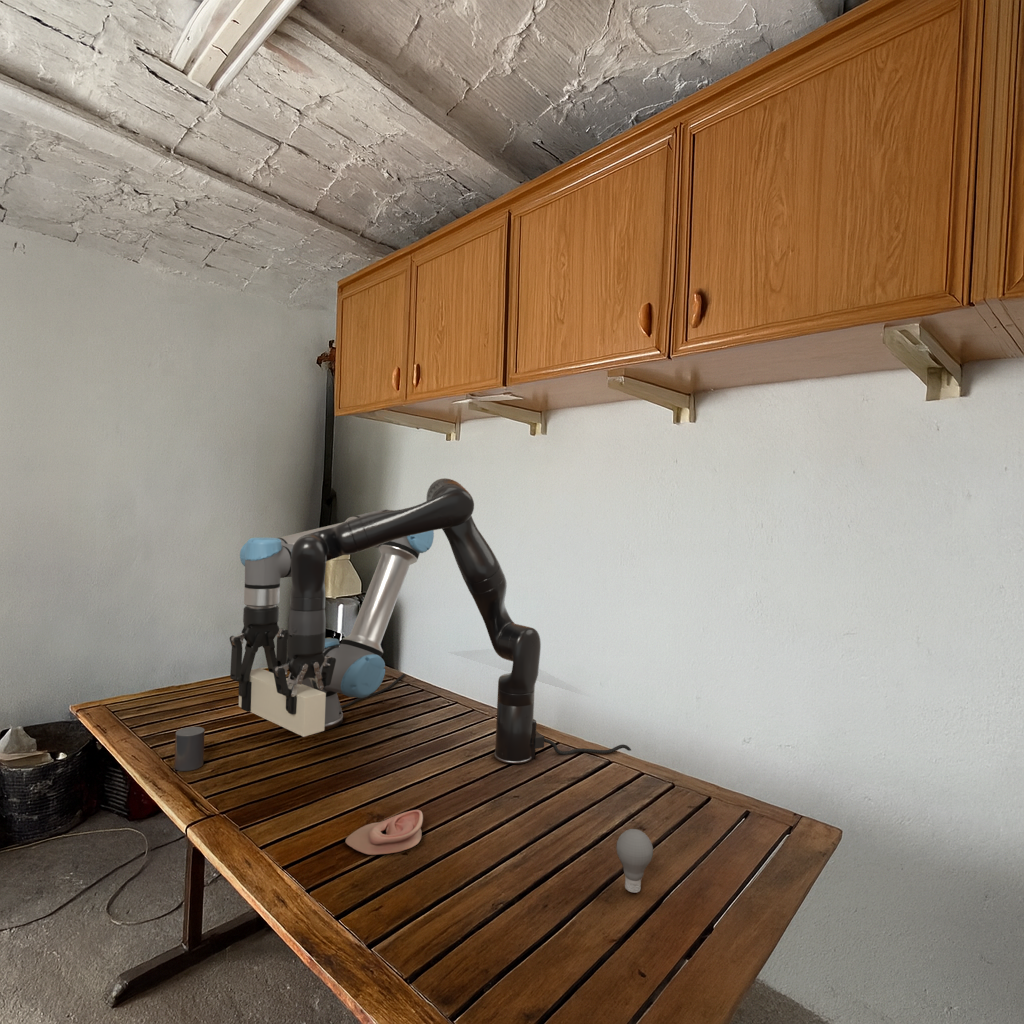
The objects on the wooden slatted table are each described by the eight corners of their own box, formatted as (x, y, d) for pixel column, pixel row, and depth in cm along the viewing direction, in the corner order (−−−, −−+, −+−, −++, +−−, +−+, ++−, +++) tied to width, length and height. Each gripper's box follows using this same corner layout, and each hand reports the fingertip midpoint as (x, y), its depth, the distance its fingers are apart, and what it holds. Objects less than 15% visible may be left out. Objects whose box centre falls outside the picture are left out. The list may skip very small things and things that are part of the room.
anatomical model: (338, 827, 114) (365, 799, 125) (337, 849, 114) (364, 818, 125) (408, 839, 111) (429, 808, 122) (407, 861, 111) (428, 828, 122)
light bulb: (610, 879, 108) (613, 822, 108) (644, 879, 109) (647, 822, 109) (619, 902, 102) (622, 840, 102) (655, 901, 103) (658, 840, 103)
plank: (238, 706, 145) (239, 671, 145) (258, 701, 149) (260, 667, 149) (303, 737, 129) (304, 698, 129) (324, 730, 133) (325, 692, 133)
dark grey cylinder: (196, 758, 150) (197, 724, 150) (208, 765, 146) (209, 731, 146) (169, 765, 145) (170, 731, 145) (181, 773, 142) (182, 738, 142)
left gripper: (288, 599, 154) (284, 694, 154) (214, 607, 139) (210, 712, 140) (305, 603, 149) (302, 702, 149) (231, 612, 135) (227, 720, 135)
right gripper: (325, 622, 141) (322, 698, 141) (265, 631, 130) (262, 714, 130) (346, 628, 136) (343, 706, 136) (285, 637, 125) (282, 723, 125)
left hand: (257, 706), depth 145 cm, fingers closed on plank, 5 cm apart
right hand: (303, 709), depth 133 cm, fingers closed on plank, 5 cm apart
